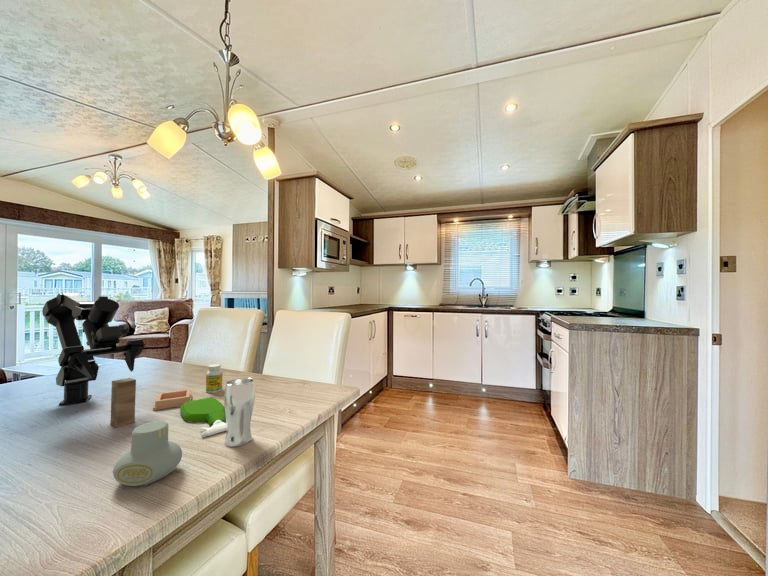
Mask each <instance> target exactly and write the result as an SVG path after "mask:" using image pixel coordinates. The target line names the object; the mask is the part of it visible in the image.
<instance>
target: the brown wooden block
mask: <svg viewBox="0 0 768 576" xmlns="http://www.w3.org/2000/svg"><path fill="white" fill-rule="evenodd" d="M136 384H137V380H136V379H135V378H132V377H124V378H121V379H117V380H111V397H110V398H111V399H110V425H111V426H113V427H115V428H119V427H123V426H127V425H129V424H132V423H135V421H136V393H137V389H136V388H137V386H136Z"/></svg>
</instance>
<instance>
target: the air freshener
mask: <svg viewBox="0 0 768 576" xmlns="http://www.w3.org/2000/svg"><path fill="white" fill-rule="evenodd" d="M130 442H131V446H130V449H129V450H128V451H126V452H125V453H124V454H123V455H122V456H120V458H119V459H118V460H117V461H116V462H115V464H114V467H113V470H112V475H113V478H114V479H115V481H116V482H118V483H119V484H121V485H125V486H133V487H143V486H146V484H147V485H150V484H152V483H155V482H156V481H159V480H161V479H163V478H164V477H166V476H168V475H169V474H171V472H173V471H174V470H175V469H176V468H177V467H178V465H179V464H180V462H181V461H182V457H183V450H182V447H181V446H180V445H179V444H177V443H176V442H174V441H171V440H169V423H167V422H166V421H163V420H162V421H161V420H159V421H151V422H150V421H149V422H147V423H144V424H141V425H138V426H137V427H135V428H134V429H132V431H131V441H130ZM142 485H143V486H142Z"/></svg>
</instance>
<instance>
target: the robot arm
mask: <svg viewBox="0 0 768 576" xmlns="http://www.w3.org/2000/svg"><path fill="white" fill-rule="evenodd" d="M119 308H120V304H119V303H118V302H117V301H115V300H113V299H110V298H108V296H103V295H102V296H98V298H97V300H95V301H91V300H89V299H87V298H86V297H85V298H84V297H83V296H81V295H80V293H77V292H61V293H58V294H57V295H56V297H53V298H51V299H49V300H47V301H46V302H45V303H44V305H43V307H42V312H41V313H42V317H44V318H45V320H46V323H47V324H50V325H51V326H53V327H55V329H56V332H57V335H58V339H59V342H60V346H61V349H62V350H61V351H60V354H59V357H58V362H57V363H58V365H59V367H60V368H59V371H58V373H57V375H56V377H55V381H56V382H55V383H56V385H57V386H59V387H63V400H61V401H60V402H59V403H58V406H63V405H73V404H79V403H80V404H81V403H85V402H88V401H89V399H90V398H92V396H93V395H92V394H89V382H92V381H97V378H98V373H99V368H100V366H99V365H98V363H97V361H96V359H95V357H96V356H99V357H100V356H108V355H113V354H114V355H115V354H121V353H123V357H124V361H125V364H126V365H127V367H128V370H129V371H130V372H134V370H135V369H134V368H135V362H136V361H135V360H136V358H137V357H138V356H139V355H141V353H142V352H143V351H144V348H145V347H146V345H147V344H146V343H145V340H143V339H141V338H140V339H139V338H138V339H131V340H130V339H129V340H127V342H126V344H125V345H118V344H119V343H120V338H121V337H123V336H127V335H128V334H129V333H130V330H129V326H128V324H126V323H125V324H119V325H110V324H109V323H111V322H112V321H113V319H114V318H115V316H116V314H117V313H118V310H119ZM75 320H76V321H83V322H82V324H81V326H82V331H81V332H82V333H84V334H85V337H86V340H87V341H86V346H89V348H87V349H85V348H84V345H83V344H82V341H81V339H80V336H79V332H78V329H77V326H76V324H75V323H76V321H75Z"/></svg>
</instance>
